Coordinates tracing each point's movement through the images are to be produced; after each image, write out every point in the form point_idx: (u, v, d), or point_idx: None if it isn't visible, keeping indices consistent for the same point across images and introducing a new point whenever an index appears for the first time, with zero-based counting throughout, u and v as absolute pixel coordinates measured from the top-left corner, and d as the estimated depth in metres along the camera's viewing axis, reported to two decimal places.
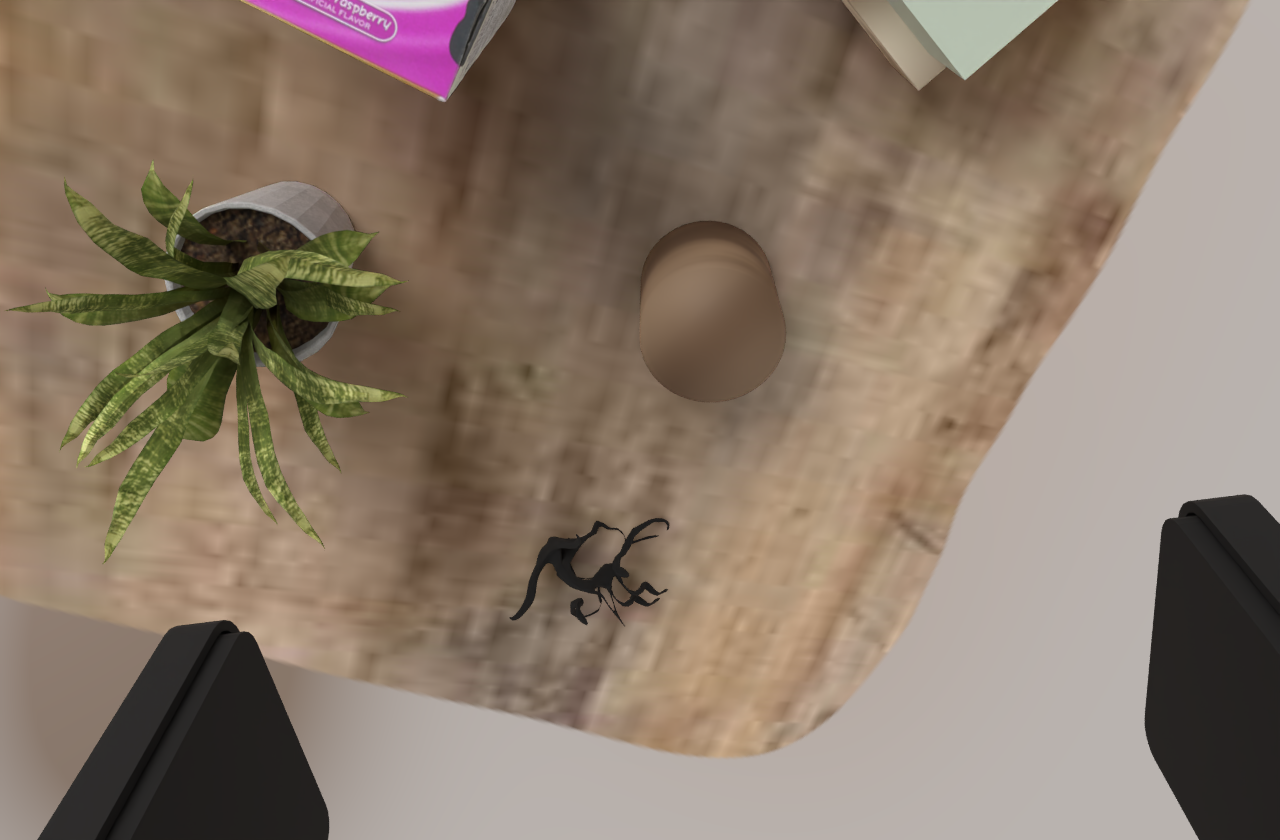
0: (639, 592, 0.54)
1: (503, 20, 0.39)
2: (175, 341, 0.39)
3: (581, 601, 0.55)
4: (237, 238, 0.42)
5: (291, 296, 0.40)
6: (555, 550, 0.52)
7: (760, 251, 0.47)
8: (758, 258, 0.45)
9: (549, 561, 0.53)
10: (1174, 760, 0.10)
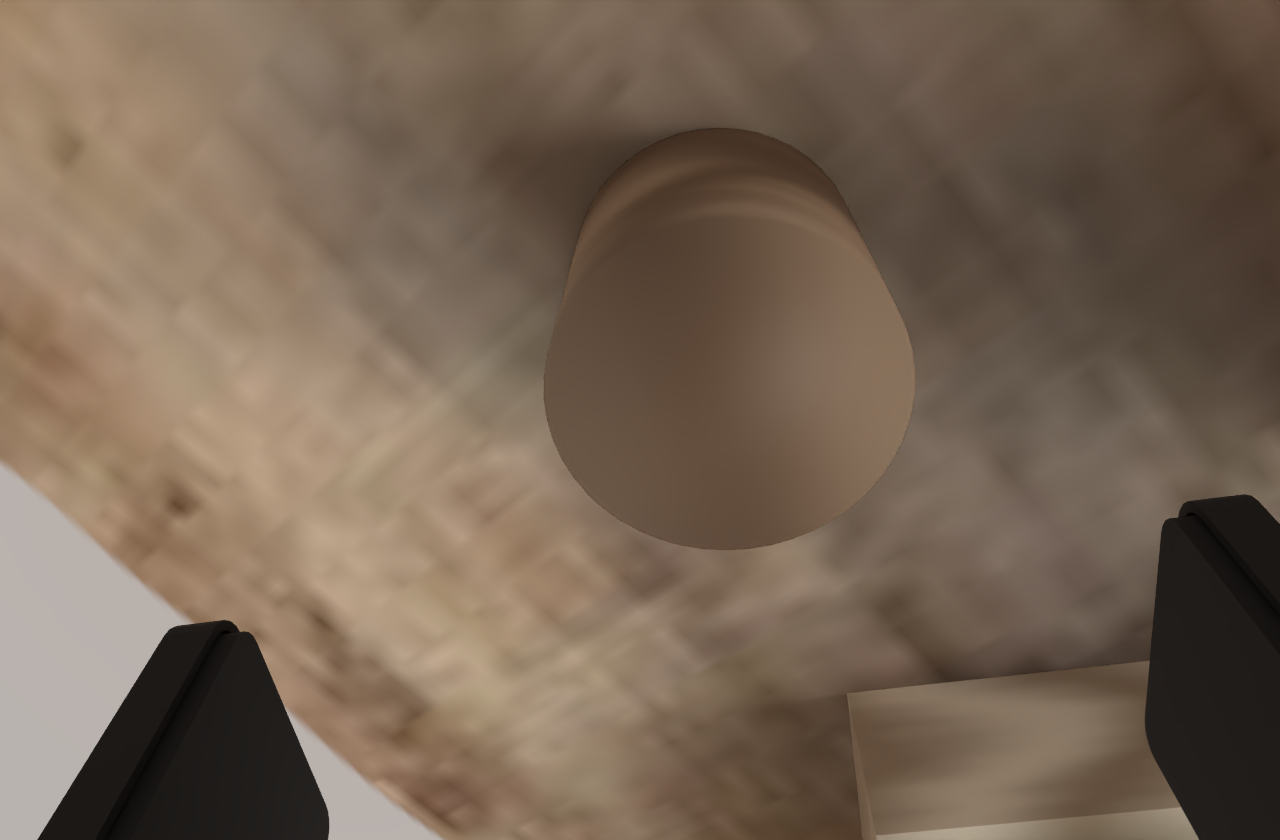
0: None
1: None
2: None
3: None
4: None
5: None
6: None
7: None
8: None
9: None
10: (1174, 760, 0.10)
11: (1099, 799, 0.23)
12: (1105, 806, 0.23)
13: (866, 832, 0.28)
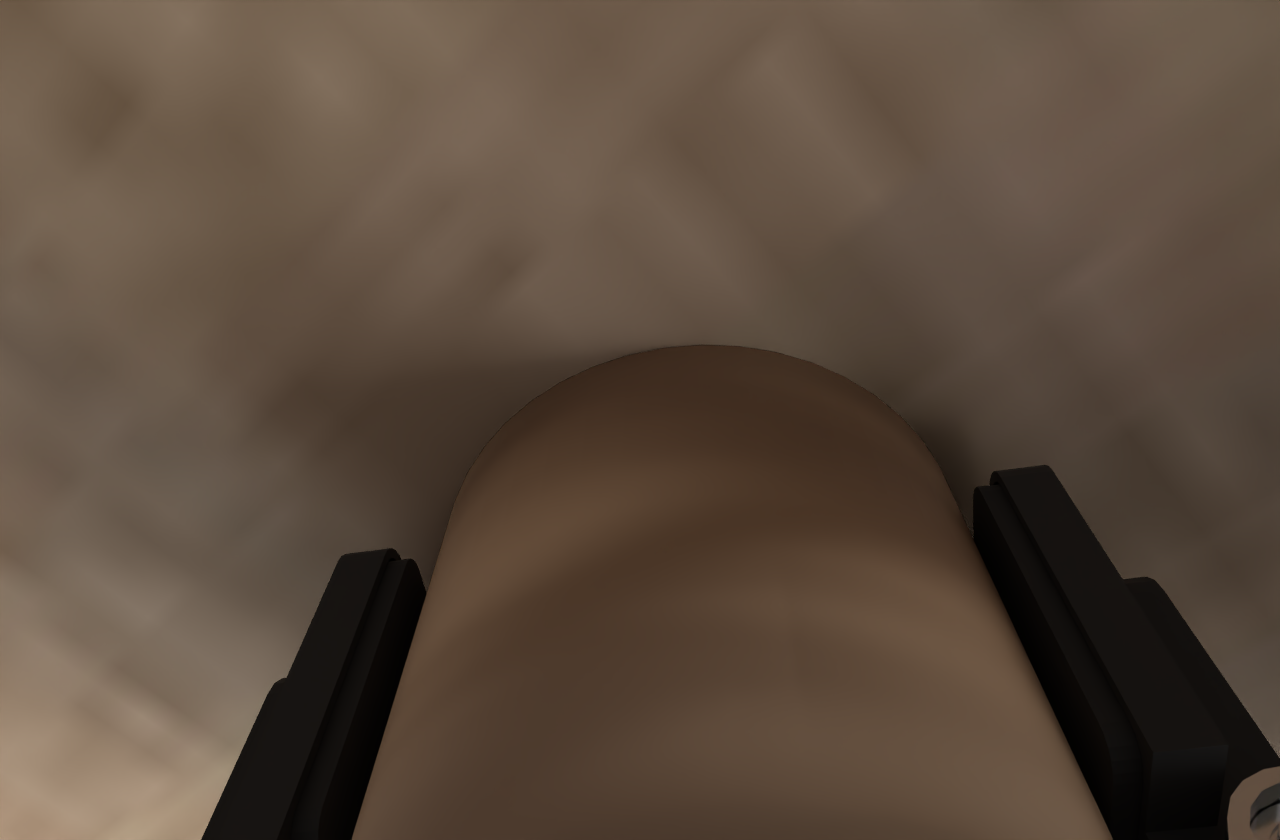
0: None
1: None
2: None
3: None
4: None
5: None
6: None
7: None
8: None
9: None
10: None
11: None
12: None
13: None
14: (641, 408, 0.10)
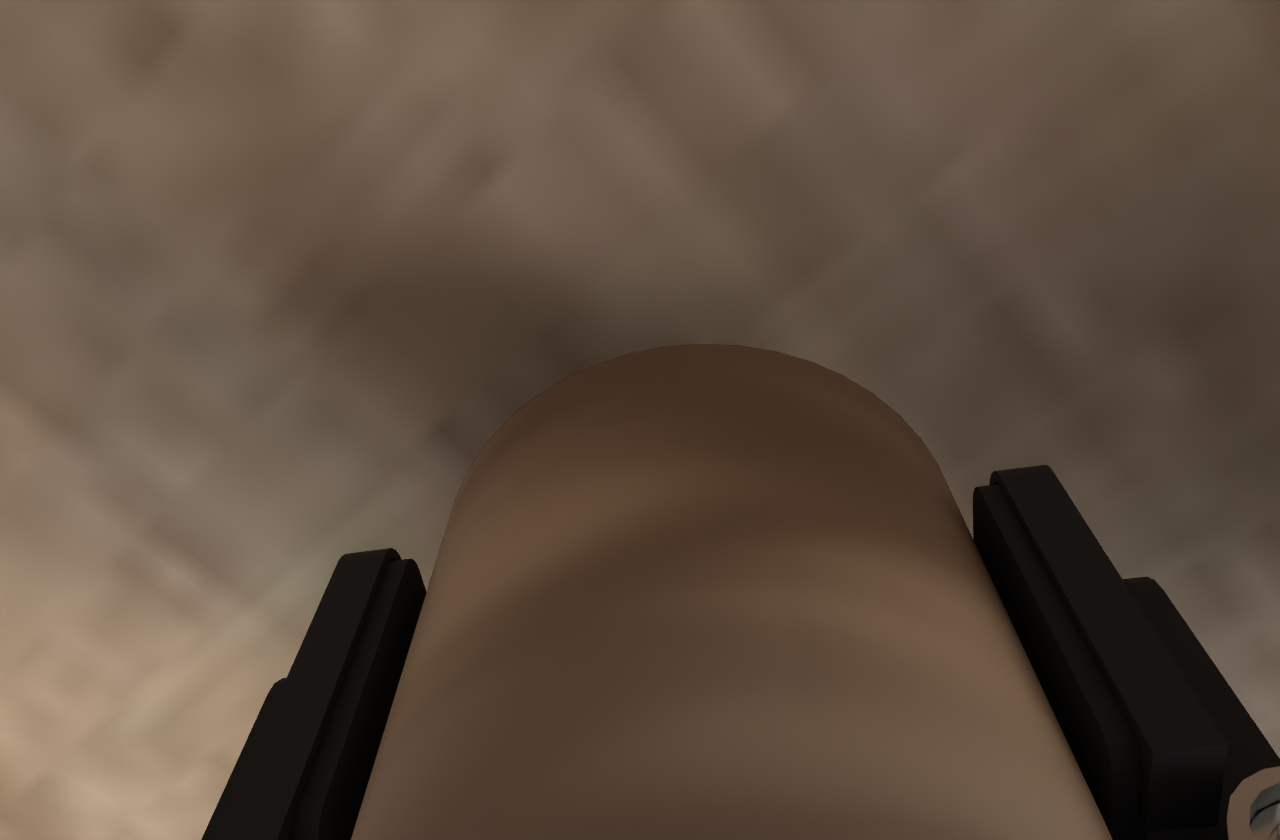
0: None
1: None
2: None
3: None
4: None
5: None
6: None
7: None
8: None
9: None
10: None
11: None
12: None
13: None
14: (641, 407, 0.10)
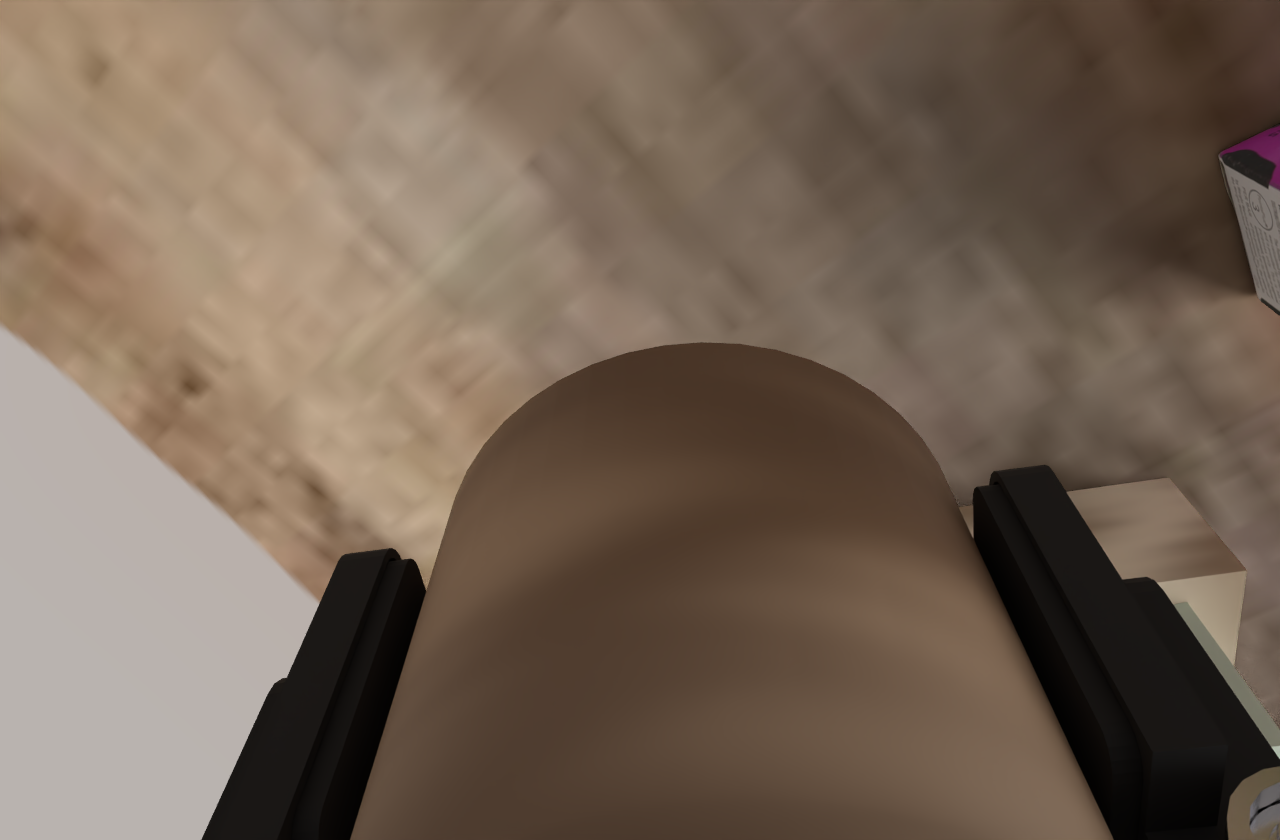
0: None
1: None
2: None
3: None
4: None
5: None
6: None
7: None
8: None
9: None
10: None
11: None
12: None
13: None
14: (641, 405, 0.10)
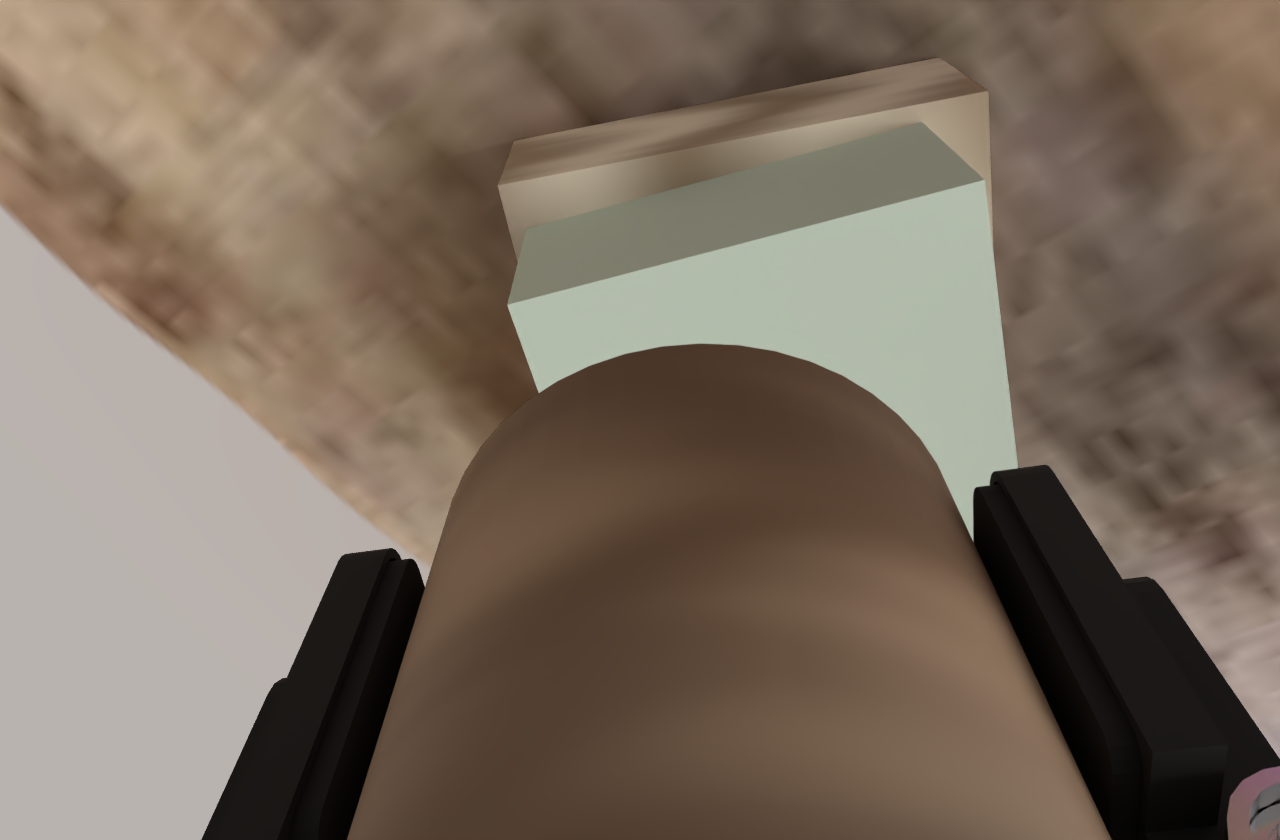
0: None
1: None
2: None
3: None
4: None
5: None
6: None
7: None
8: None
9: None
10: None
11: (696, 142, 0.26)
12: (699, 144, 0.26)
13: None
14: (639, 406, 0.10)
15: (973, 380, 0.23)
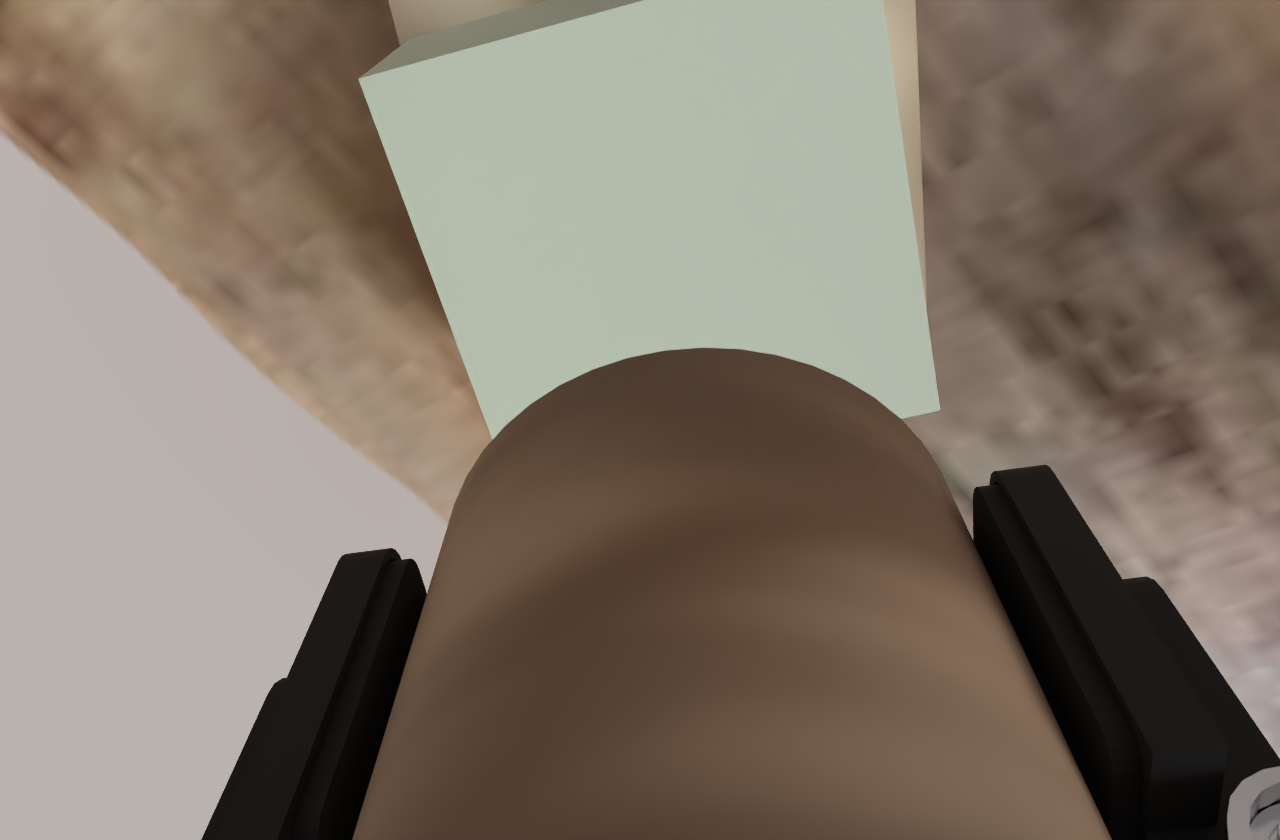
0: None
1: None
2: None
3: None
4: None
5: None
6: None
7: None
8: None
9: None
10: None
11: None
12: None
13: None
14: (641, 411, 0.10)
15: (870, 180, 0.21)
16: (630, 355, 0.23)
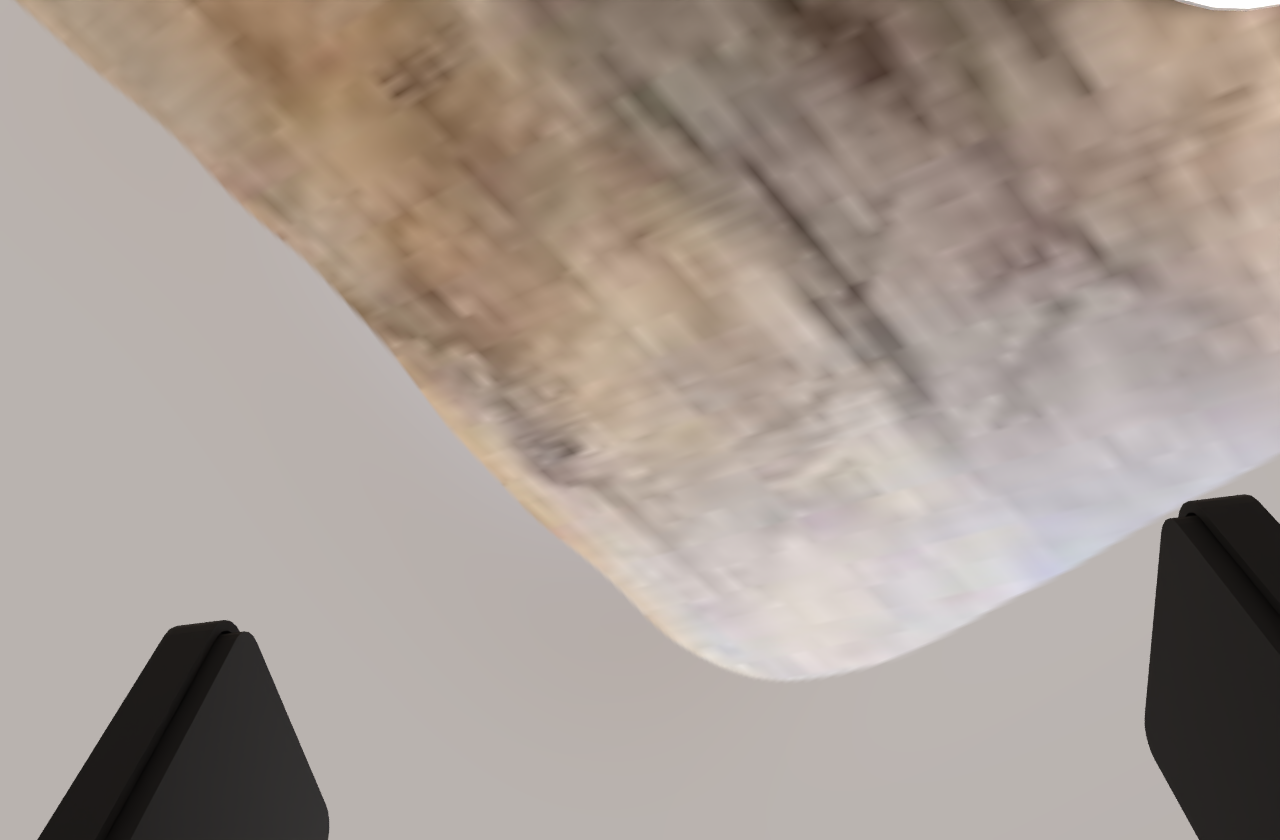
0: None
1: None
2: None
3: None
4: None
5: None
6: None
7: None
8: None
9: None
10: (1174, 760, 0.10)
11: None
12: None
13: None
14: None
15: None
16: None
